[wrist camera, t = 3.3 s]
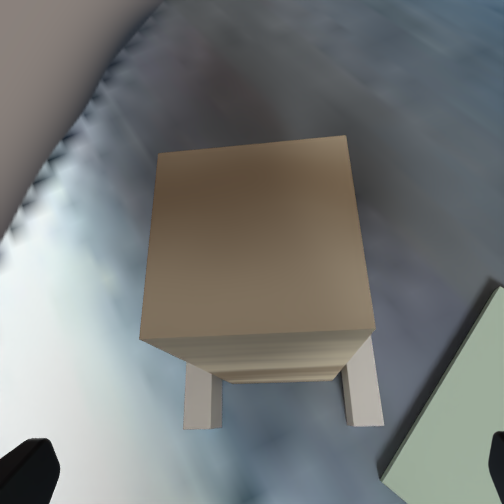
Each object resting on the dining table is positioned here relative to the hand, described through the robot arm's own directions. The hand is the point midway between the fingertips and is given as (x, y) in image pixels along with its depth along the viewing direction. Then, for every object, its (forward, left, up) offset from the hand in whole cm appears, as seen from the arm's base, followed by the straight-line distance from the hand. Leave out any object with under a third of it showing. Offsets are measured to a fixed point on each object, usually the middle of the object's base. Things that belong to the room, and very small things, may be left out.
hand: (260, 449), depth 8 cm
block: (+4, +3, -11) cm, 12 cm away
